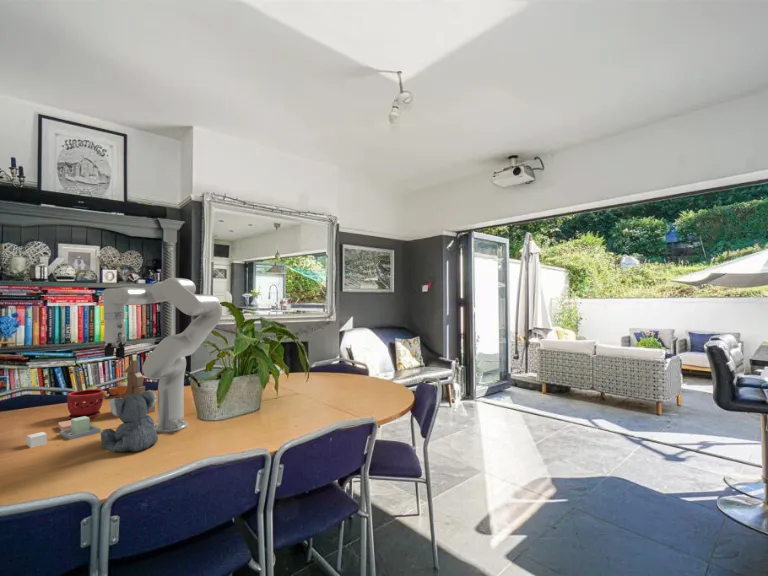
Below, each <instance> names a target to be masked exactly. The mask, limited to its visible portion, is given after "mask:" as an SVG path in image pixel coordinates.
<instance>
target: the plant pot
mask: <svg viewBox="0 0 768 576" xmlns="http://www.w3.org/2000/svg"><path fill="white" fill-rule="evenodd" d="M104 391H105V390H103V389H101V390H86V389H85V390H82V389H81V390H77V391H76V390H74V391H72V392H71V391H70V392H69V393H67V399H66V401H67V402H66V405H67V410H68V413H69V415H68V416H67V418H68V421H69V420H71V419H74V418H79V417H83V416H86V417H89V418H90V420H91V419H95V418H97V417H99V416H100V415H101V411H100V410H101V408H102V405H103V403H104V399H103V397H104Z"/></svg>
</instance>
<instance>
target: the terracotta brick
mask: <svg viewBox="0 0 768 576" xmlns="http://www.w3.org/2000/svg"><path fill="white" fill-rule="evenodd" d="M57 424H58V425H57V426H58V427H57V428H58V429H59V430H60V431H63V430H68V429H71V420H69V419H68V420H63V421H59V422H57Z"/></svg>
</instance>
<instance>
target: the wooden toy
mask: <svg viewBox="0 0 768 576" xmlns="http://www.w3.org/2000/svg"><path fill="white" fill-rule="evenodd" d="M124 373H126V374H127V375H126V377H127V378H126V380H127V390H126V392H125V393H123V394H122V397H121V399H124V398H125V397H126V396H128V395H132V394H137V395H141V394H142V393H143V392H145V391H146V386H145V385H144V380H143V379H144V376H143V374H142V372H140V371H139V359H135V360H132V362H131V363H130V364H129V365H128V367H126V369H125V370H124ZM155 406H156V403H155V404H154V406H153V407H152V408H151V409H150V410H147V414H146V415H148V414H152V413H155V412H156V411H155V409H156V407H155Z"/></svg>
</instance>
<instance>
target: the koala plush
mask: <svg viewBox="0 0 768 576" xmlns="http://www.w3.org/2000/svg"><path fill="white" fill-rule="evenodd" d="M157 399H158V396H157V395H156V393H155V391H153V390H151V389H146V390H145V392H143V393H142V394H141V395H137V394H132V395H128V396H126V397H125V398H124V399H122V398H121V397H115V398H112V399H110V400H109V404H108V405H109V406H110V412H111V414H112V415H113V416H115V417H118V418H119V419H120V421H121V422H122V423H120V424H119V425H118V426H117V428H116V429H115V430H114V429H113V428H105V429H102V430H101V431H100V440H101V441H100V443H101V446H102V447H103V448H104V449H106V450H110V451H111V452H114V453H117V452H119V453H125V452H127V451H129V452H130V451H131V452H141V451H143V450H146V449H148V448H149V447H150V446H153V445H155V444H156V443H157V442H158V441H159V435H158V434H157V433H158V432H156V431H155V429H154V426H155V420H154V418H153V417H152V416H151V415H148V414H147V410H150V409H151V408H152V407H153V406H154V404H155V405H156V404H157Z"/></svg>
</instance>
